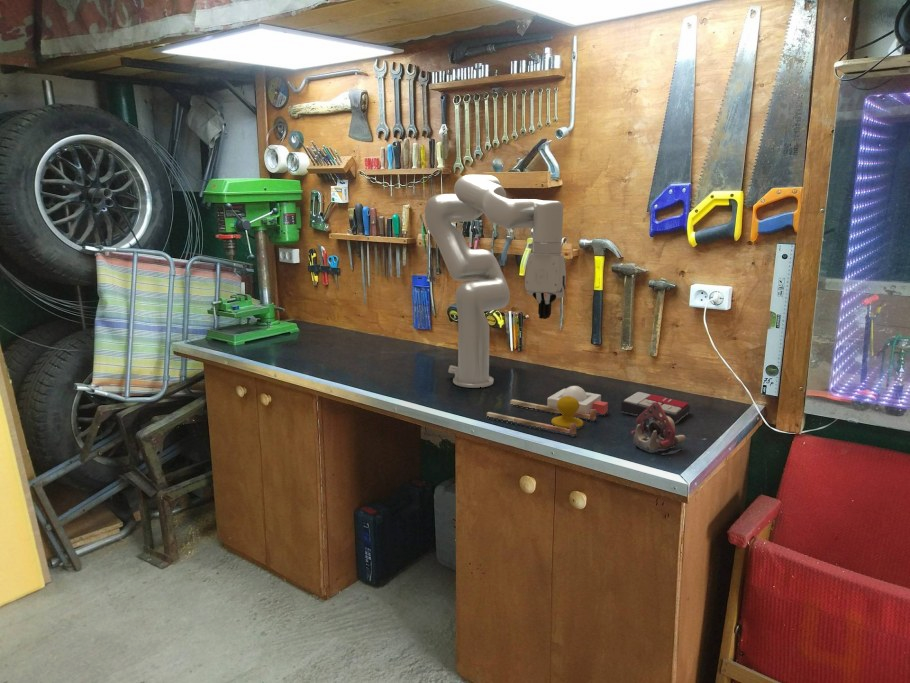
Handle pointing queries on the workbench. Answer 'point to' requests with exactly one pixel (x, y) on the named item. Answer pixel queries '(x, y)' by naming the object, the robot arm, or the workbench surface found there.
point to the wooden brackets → (542, 425)
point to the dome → (575, 393)
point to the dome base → (584, 407)
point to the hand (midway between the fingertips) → (544, 317)
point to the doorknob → (567, 412)
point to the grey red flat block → (643, 401)
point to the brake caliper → (656, 429)
